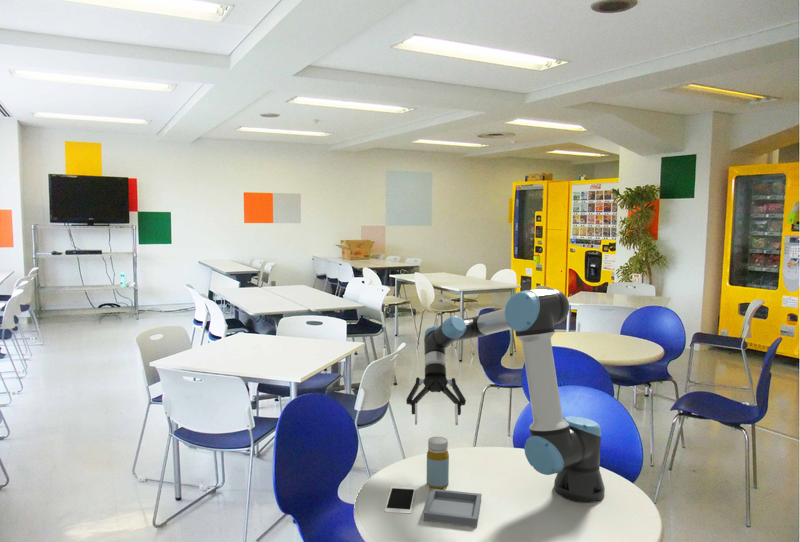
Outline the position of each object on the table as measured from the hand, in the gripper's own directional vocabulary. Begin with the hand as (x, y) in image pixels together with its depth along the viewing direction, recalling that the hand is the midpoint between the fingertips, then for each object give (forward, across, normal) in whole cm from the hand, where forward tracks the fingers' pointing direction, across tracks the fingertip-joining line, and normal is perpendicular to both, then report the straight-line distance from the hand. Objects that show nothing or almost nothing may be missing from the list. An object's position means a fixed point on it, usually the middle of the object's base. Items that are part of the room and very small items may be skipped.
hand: (436, 423), depth 194 cm
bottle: (+19, 0, -5) cm, 20 cm away
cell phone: (+26, +12, +2) cm, 29 cm away
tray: (+30, -4, +7) cm, 31 cm away
